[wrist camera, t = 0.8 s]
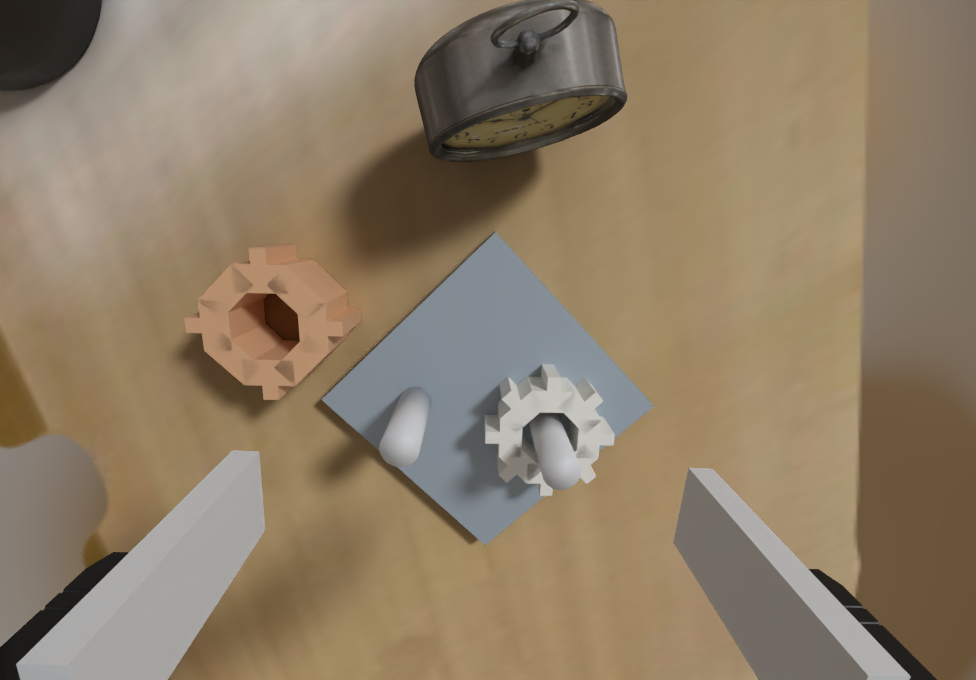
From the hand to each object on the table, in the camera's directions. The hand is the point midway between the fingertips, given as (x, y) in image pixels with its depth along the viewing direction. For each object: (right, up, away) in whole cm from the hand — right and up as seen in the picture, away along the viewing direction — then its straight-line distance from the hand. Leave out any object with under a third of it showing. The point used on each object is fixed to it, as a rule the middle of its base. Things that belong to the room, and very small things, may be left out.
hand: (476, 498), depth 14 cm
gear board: (0, 0, +22) cm, 22 cm away
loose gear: (-14, +7, +20) cm, 26 cm away
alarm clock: (+2, +20, +17) cm, 27 cm away
